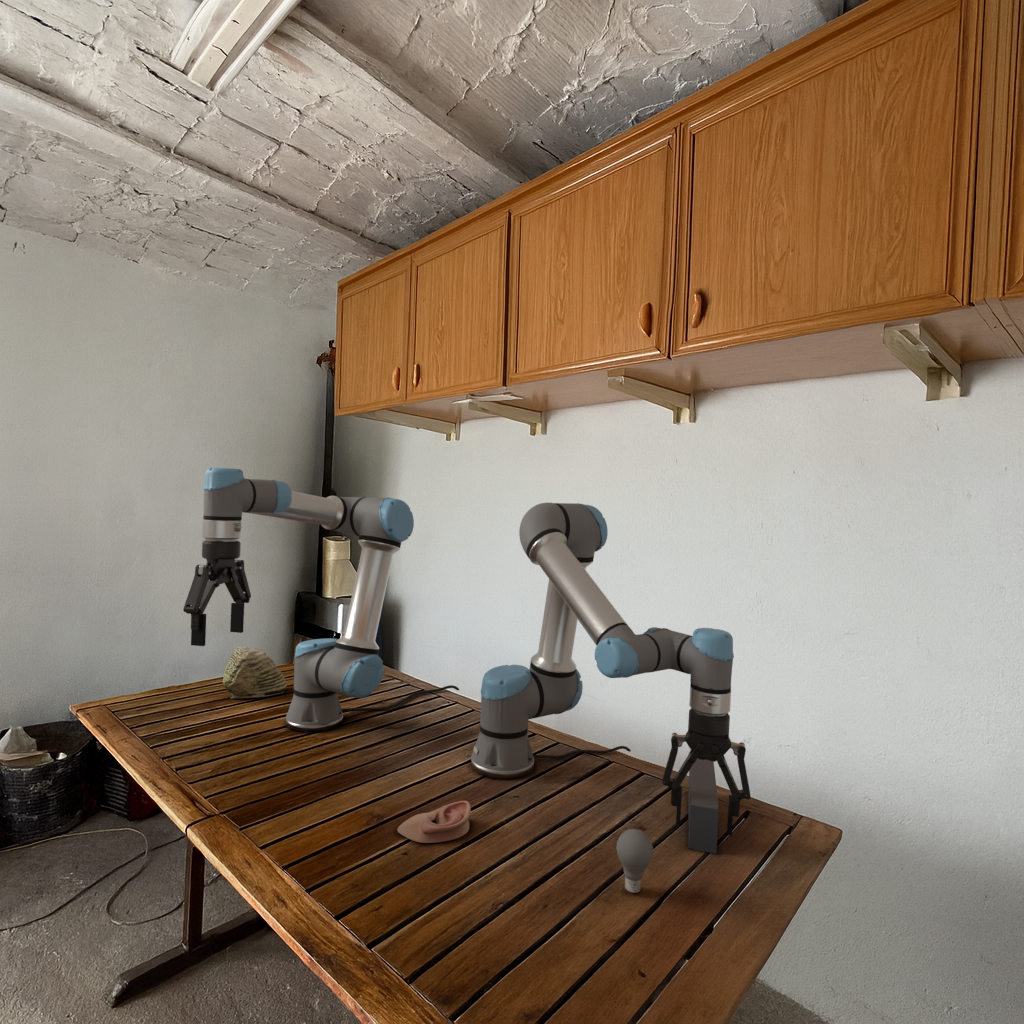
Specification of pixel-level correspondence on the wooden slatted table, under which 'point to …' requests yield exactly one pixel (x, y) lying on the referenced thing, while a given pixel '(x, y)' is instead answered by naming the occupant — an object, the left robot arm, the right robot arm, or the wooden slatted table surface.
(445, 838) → the anatomical model
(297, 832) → the wooden slatted table surface
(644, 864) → the light bulb
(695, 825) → the bar
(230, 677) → the fossil
